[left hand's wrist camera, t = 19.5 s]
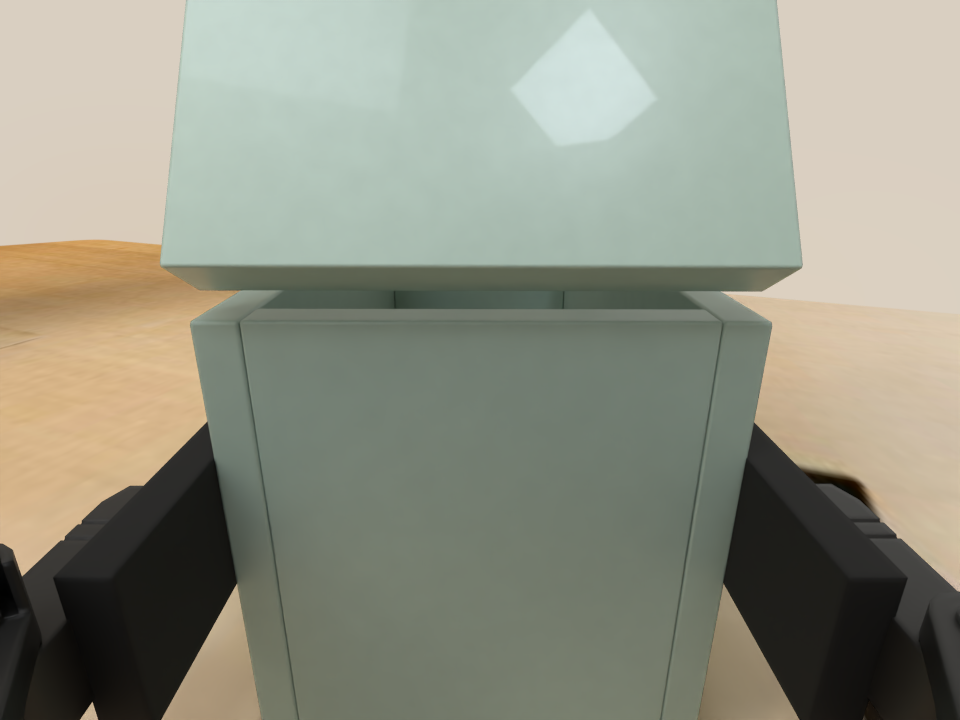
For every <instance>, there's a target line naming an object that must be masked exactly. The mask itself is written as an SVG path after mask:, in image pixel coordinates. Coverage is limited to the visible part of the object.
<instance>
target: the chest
mask: <svg viewBox="0 0 960 720" xmlns="http://www.w3.org/2000/svg"><path fill="white" fill-rule="evenodd" d="M190 327H191V333H192V338H193V344H194V349H195V355H196V360H197V366H198V371H199V377H200V382H201V388H202V393H203V399H204V404H205V410H206V415H207V421H208V426H209V432H210V437H211V443H212V448H213V454H214V459H215V465H216V470H217V476H218V481H219V487H220V492H221V498H222V503H223V509H224V514H225V520H226V525H227V531H228V536H229V542H230V547H231V553H232V558H233V564H234V569H235V575H236V580H237V586H238V591H239V597H240V602H241V608H242V613H243V619H244V624H245V630H246V635H247V641H248V646H249V652H250V657H251V663H252V668H253V674H254V679H255V685H256V690H257V696H258V701H259V707H260V712H261V718H262V720H698V715H699V710H700V705H701V699H702V694H703V689H704V683H705V678H706V673H707V668H708V662H709V657H710V652H711V646H712V641H713V636H714V631H715V625H716V620H717V615H718V609H719V604H720V599H721V594H722V588H723V581H724V576H725V570H726V565H727V559H728V554H729V549H730V543H731V538H732V533H733V527H734V522H735V517H736V511H737V506H738V500H739V495H740V490H741V484H742V479H743V474H744V468H745V463H746V458H747V456H748V451H749V446H750V440H751V435H752V430H753V424H754V419H755V414H756V409H757V403H758V398H759V393H760V387H761V382H762V377H763V372H764V366H765V361H766V356H767V350H768V345H769V340H770V335H771V329H772V323H771V322H770V321H768V320H767V319H765V318H763V317H762V316H760V315H759V314H757V313H755V312H754V311H752V310H750V309H749V308H747V307H745V306H744V305H742V304H740V303H739V302H737V301H735V300H734V299H732V298H730V297H729V296H727V295H725V294H724V293H722V292H720V291H296V290H241V291H239V292H238V293H236V294H235V295H233V296H231V297H230V298H228V299H226V300H225V301H223V302H222V303H220V304H218V305H217V306H215V307H213V308H212V309H210V310H208V311H207V312H205V313H204V314H202V315H200V316H199V317H197V318H195V319H194V320H192V321H191V323H190Z"/></svg>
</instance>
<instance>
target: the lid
mask: <svg viewBox="0 0 960 720" xmlns="http://www.w3.org/2000/svg"><path fill="white" fill-rule="evenodd" d="M802 265H803V264H802V253H801V244H800V233H799V223H798V213H797V203H796V193H795V182H794V172H793V162H792V152H791V141H790V131H789V121H788V111H787V101H786V90H785V80H784V70H783V60H782V50H781V40H780V30H779V19H778V9H777V0H186V7H185V17H184V27H183V37H182V47H181V57H180V67H179V77H178V87H177V97H176V108H175V117H174V128H173V138H172V148H171V158H170V168H169V178H168V188H167V198H166V208H165V218H164V228H163V238H162V248H161V258H160V266H161V267H162V268H164V269H165V270H167V271H169V272H170V273H172V274H173V275H175V276H177V277H178V278H180V279H182V280H183V281H185V282H187V283H188V284H190V285H192V286H193V287H195V288H197V289H198V290H296V291H763V290H765V289H767V288H769V287H771V286H772V285H774V284H776V283H777V282H779V281H781V280H783V279H784V278H786V277H788V276H789V275H791V274H793V273H794V272H796V271H798V270H800V269H801V268H802Z"/></svg>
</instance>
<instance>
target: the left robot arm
mask: <svg viewBox="0 0 960 720" xmlns="http://www.w3.org/2000/svg"><path fill="white" fill-rule="evenodd" d="M723 583H724V585H725V587H726V588H727V590H728V592H729V594H730V596H731V597H732V599H733V601H734V603H735V605H736V606H737V608H738V610H739V612H740V613H741V615H742V617H743V619H744V621H745V622H746V624H747V626H748V628H749V630H750V631H751V633H752V635H753V637H754V639H755V640H756V642H757V644H758V646H759V648H760V649H761V651H762V653H763V655H764V657H765V658H766V660H767V662H768V664H769V666H770V667H771V669H772V671H773V673H774V675H775V676H776V678H777V680H778V682H779V684H780V685H781V687H782V689H783V691H784V693H785V694H786V696H787V698H788V700H789V702H790V703H791V705H792V707H793V709H794V711H795V712H796V714H797V716H798V718H799V719H800V720H862V719H863V716H864V713H865V710H866V707H867V704H868V701H869V700H870V702H871V703H872V705H873V706H874V707H875V709H876V710H877V712H878V713H879V714H880V716H881V717H882V719H883V720H960V592H958V591H956V590H955V589H954V588H953V587H952V586H951V585H950V584H949V583H948V582H947V581H946V580H945V579H944V578H943V577H941V576H940V575H939V574H938V573H937V572H936V571H935V570H934V569H933V568H932V567H931V566H930V565H929V564H928V563H926V562H925V561H924V560H923V559H922V558H921V557H920V556H919V555H918V554H917V553H916V552H915V551H914V550H913V549H911V548H910V547H909V546H908V545H907V544H906V543H905V542H904V541H903V540H902V539H897V537H896V534H895V533H894V532H893V531H892V530H891V529H890V528H889V527H888V526H887V525H886V524H885V523H880V519H879V518H878V517H877V516H876V515H875V514H874V513H873V512H872V511H871V510H870V509H869V508H867V507H866V506H865V505H864V504H863V503H862V502H861V501H860V500H858V499H857V498H855V497H853V496H851V495H850V494H848V493H846V492H844V491H843V490H841V489H839V488H837V487H836V486H834V485H832V484H815V483H814V482H813V481H812V480H811V479H810V478H809V477H808V476H807V475H806V474H805V473H804V472H803V471H802V470H801V469H800V468H799V467H798V466H797V465H796V464H795V463H794V462H793V461H792V460H791V459H790V458H789V457H788V456H787V455H786V454H785V453H784V452H783V451H782V450H781V449H780V448H779V447H778V446H777V445H776V444H775V443H774V442H773V441H772V440H771V439H770V438H769V437H768V436H767V435H766V434H765V433H764V432H763V431H762V430H761V429H760V428H759V427H758V426H757V425H756V424H755V423H754V424H753V430H752V435H751V440H750V446H749V451H748V456H747V458H746V463H745V468H744V474H743V479H742V484H741V490H740V495H739V500H738V506H737V511H736V517H735V522H734V527H733V533H732V538H731V543H730V549H729V554H728V559H727V565H726V570H725V576H724V581H723ZM236 584H237V580H236V575H235V569H234V564H233V558H232V553H231V547H230V542H229V536H228V531H227V525H226V520H225V514H224V509H223V503H222V498H221V492H220V487H219V481H218V476H217V470H216V465H215V459H214V454H213V448H212V443H211V437H210V432H209V426H208V422H207V423H206V424H205V425H204V426H203V427H202V428H201V429H200V430H199V431H198V432H197V433H196V434H195V435H194V436H193V437H192V438H191V439H190V440H189V441H188V442H187V443H186V444H185V445H184V446H183V447H182V448H181V449H180V450H179V451H178V452H177V453H176V454H175V455H174V456H173V457H172V458H171V459H170V460H169V461H168V462H167V463H166V464H165V465H164V466H163V467H162V468H161V469H160V470H159V471H158V472H157V473H156V474H155V475H154V476H153V477H152V478H151V479H150V480H149V481H148V482H147V483H146V484H145V485H144V486H129V487H127V488H125V489H124V490H122V491H120V492H118V493H117V494H115V495H113V496H111V497H110V498H108V499H106V500H104V501H103V502H101V503H100V504H99V505H98V506H97V507H96V508H95V509H94V510H93V511H92V512H91V513H90V514H88V515H87V516H86V517H85V518H84V519H83V520H82V524H78V525H77V526H76V527H75V528H74V529H72V530H71V531H70V532H69V533H68V534H67V535H66V536H65V540H64V541H60V542H59V543H58V544H57V545H55V546H54V547H53V548H52V549H51V550H50V551H49V552H48V553H47V554H46V555H45V556H44V557H43V558H42V559H41V560H39V561H38V562H37V563H36V564H35V565H34V566H33V567H32V568H31V569H30V570H29V571H28V572H27V573H26V574H25V575H24V576H21V573H20V570H19V567H18V564H17V561H16V558H15V555H14V552H13V550H12V549H10V548H9V547H7V546H5V545H4V544H0V720H80V719H81V717H82V716H83V714H84V713H85V711H86V710H87V709H88V707H89V706H90V704H91V703H92V701H93V704H94V707H95V711H96V714H97V717H98V720H161V719H162V717H163V715H164V713H165V712H166V710H167V708H168V706H169V704H170V703H171V701H172V699H173V697H174V695H175V694H176V692H177V690H178V688H179V687H180V685H181V683H182V681H183V679H184V678H185V676H186V674H187V672H188V670H189V669H190V667H191V665H192V663H193V661H194V660H195V658H196V656H197V654H198V652H199V651H200V649H201V647H202V645H203V643H204V642H205V640H206V638H207V636H208V634H209V633H210V631H211V629H212V627H213V625H214V624H215V622H216V620H217V618H218V616H219V615H220V613H221V611H222V609H223V607H224V606H225V604H226V602H227V600H228V598H229V597H230V595H231V593H232V591H233V589H234V588H235V586H236Z"/></svg>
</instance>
